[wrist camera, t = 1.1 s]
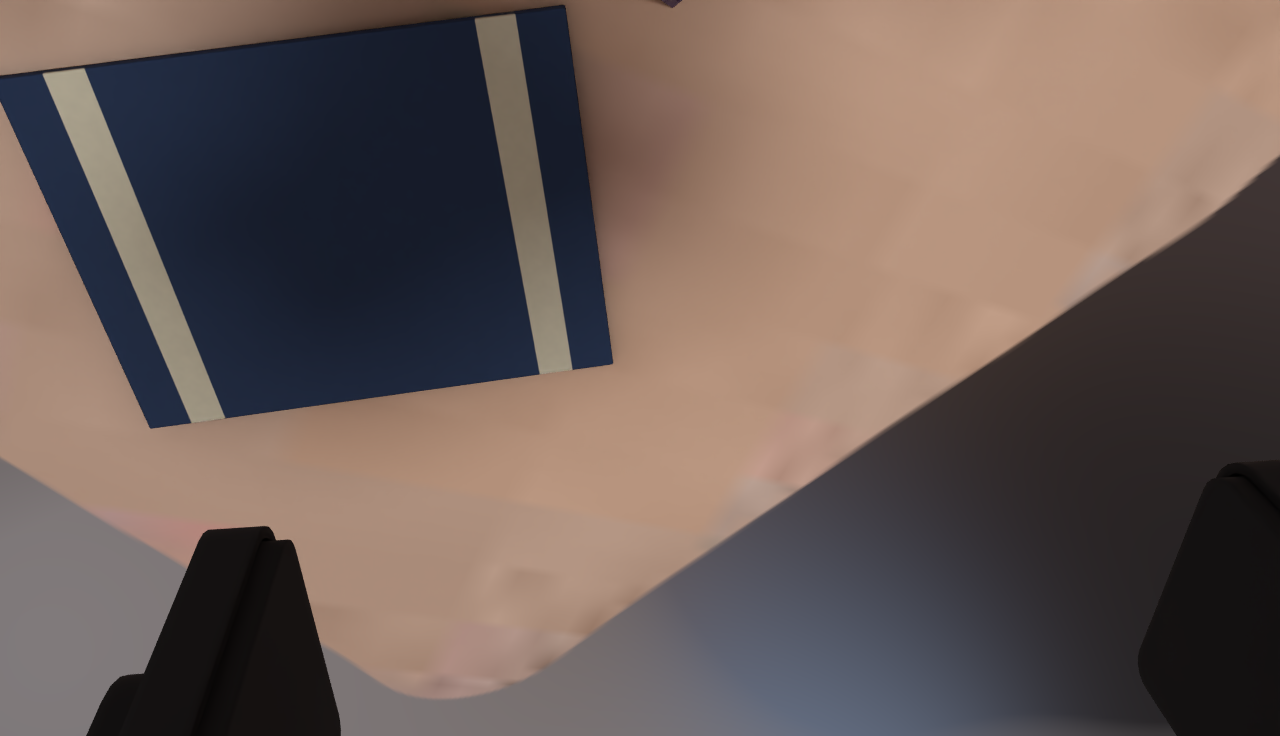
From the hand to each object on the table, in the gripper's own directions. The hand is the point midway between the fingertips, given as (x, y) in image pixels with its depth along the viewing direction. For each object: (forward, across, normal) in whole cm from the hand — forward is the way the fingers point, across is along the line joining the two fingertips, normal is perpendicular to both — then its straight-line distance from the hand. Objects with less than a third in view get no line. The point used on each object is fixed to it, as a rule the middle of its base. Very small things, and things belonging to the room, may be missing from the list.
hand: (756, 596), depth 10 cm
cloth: (+22, +9, +6) cm, 24 cm away
